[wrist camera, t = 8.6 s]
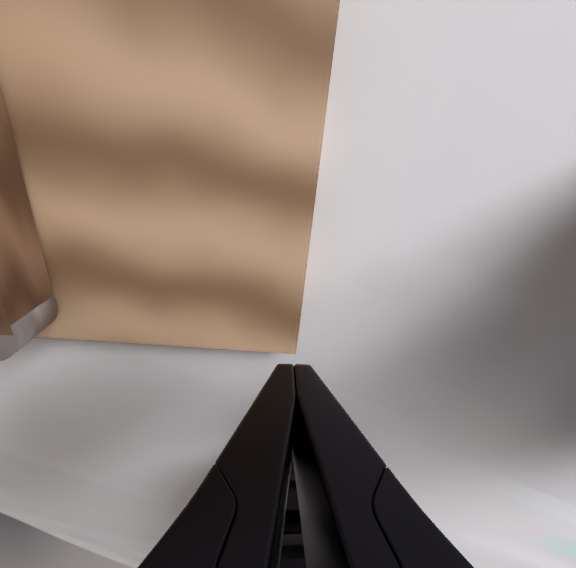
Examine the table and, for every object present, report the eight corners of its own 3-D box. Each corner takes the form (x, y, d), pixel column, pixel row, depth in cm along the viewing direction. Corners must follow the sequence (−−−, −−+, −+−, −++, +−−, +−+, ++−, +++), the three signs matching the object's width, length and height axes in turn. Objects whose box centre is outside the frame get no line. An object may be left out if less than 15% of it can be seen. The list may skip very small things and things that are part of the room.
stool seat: (294, 335, 21) (297, 383, 17) (14, 316, 20) (-53, 361, 16) (344, -80, 13) (372, -179, 9) (-132, -144, 12) (-346, -287, 8)
